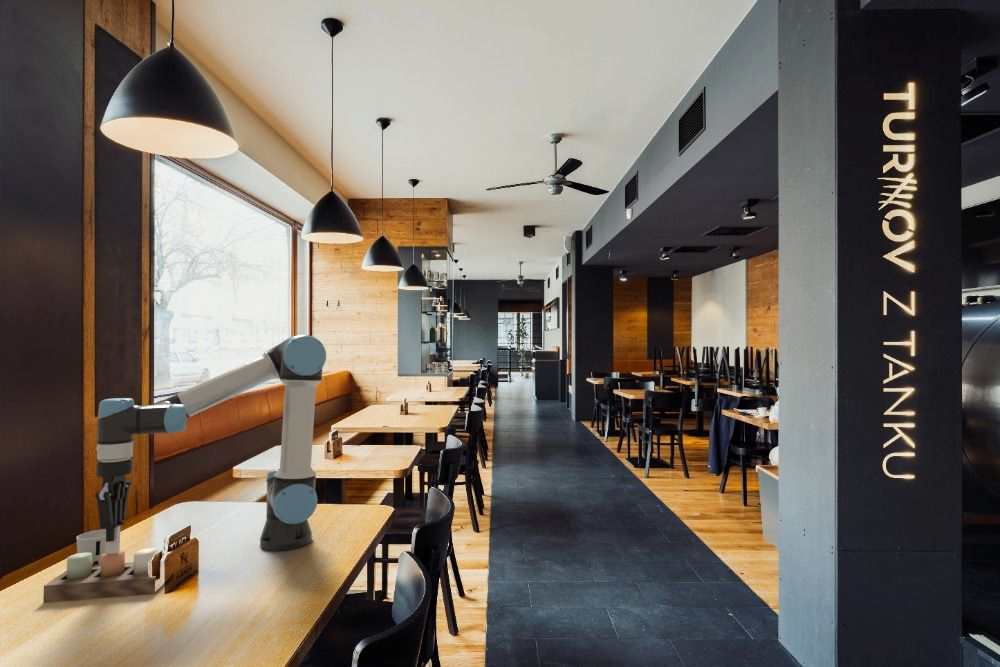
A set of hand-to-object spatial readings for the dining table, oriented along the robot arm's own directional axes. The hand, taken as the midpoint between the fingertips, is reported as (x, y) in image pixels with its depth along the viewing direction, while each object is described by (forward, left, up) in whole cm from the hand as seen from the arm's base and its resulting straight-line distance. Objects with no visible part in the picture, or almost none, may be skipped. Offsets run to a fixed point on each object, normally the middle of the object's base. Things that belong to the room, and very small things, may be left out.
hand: (112, 552), depth 139 cm
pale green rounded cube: (+7, 0, -5) cm, 9 cm away
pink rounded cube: (0, 0, -5) cm, 5 cm away
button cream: (-8, 0, -5) cm, 9 cm away
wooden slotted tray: (0, 0, -9) cm, 9 cm away
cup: (+10, -13, -9) cm, 19 cm away
